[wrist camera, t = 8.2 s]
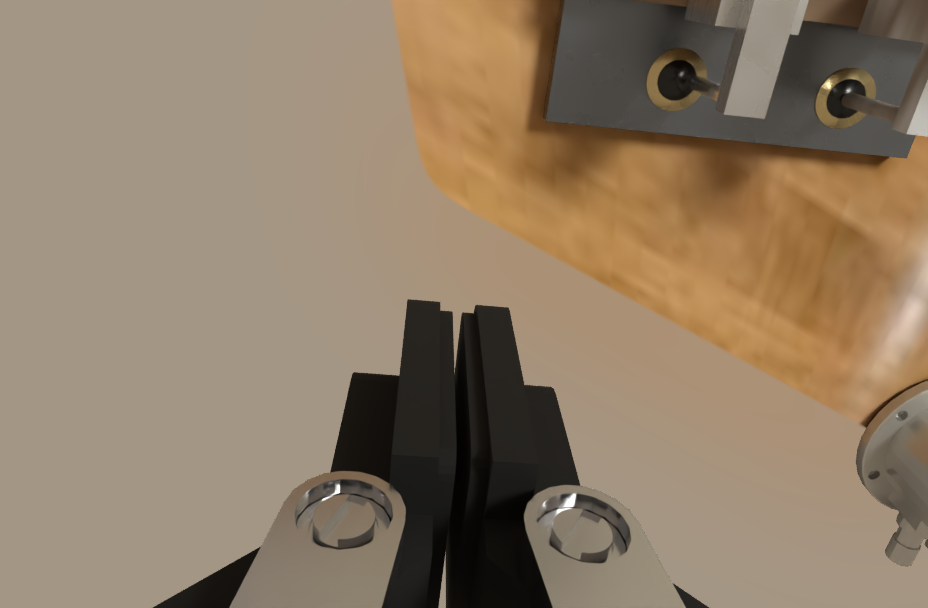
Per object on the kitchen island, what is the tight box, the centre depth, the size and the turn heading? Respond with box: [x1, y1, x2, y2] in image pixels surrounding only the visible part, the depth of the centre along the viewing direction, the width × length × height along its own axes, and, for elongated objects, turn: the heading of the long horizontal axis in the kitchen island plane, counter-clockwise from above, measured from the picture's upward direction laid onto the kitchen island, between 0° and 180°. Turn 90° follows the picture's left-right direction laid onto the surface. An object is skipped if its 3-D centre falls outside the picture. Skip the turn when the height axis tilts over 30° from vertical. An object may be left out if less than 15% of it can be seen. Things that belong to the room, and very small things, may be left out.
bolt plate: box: [543, 0, 924, 158], centre depth 38 cm, size 10×22×1 cm, turn 84°
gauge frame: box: [634, 0, 928, 136], centre depth 34 cm, size 7×21×8 cm, turn 84°
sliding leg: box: [684, 0, 809, 119], centre depth 33 cm, size 7×4×7 cm, turn 174°
